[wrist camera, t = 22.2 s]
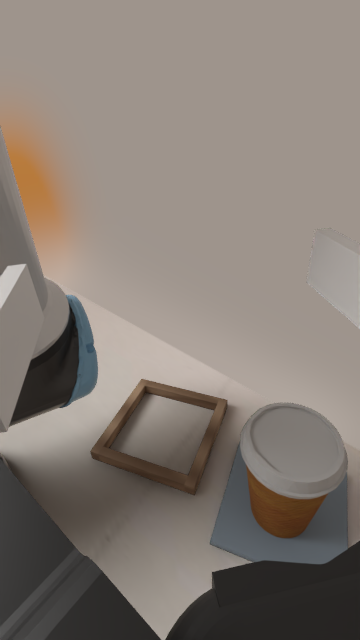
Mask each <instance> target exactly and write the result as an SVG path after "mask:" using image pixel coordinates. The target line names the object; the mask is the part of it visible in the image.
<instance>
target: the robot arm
mask: <svg viewBox="0 0 360 640" xmlns="http://www.w3.org/2000/svg"><path fill="white" fill-rule="evenodd" d="M307 283H308V284H309V285H310V286H311V287H312V288H313V289H315V290H316V291H317V292H318V293H319V294H320V295H322V296H323V297H324V298H325V299H326V300H327V301H328V302H329V303H331V304H332V305H333V306H334V307H335V308H337V310H339V311H340V312H341V313H342V314H343V315H344V316H346V317H347V318H348V319H349V320H350V321H351V322H352V323H354V324H355V325H356V326H357V327H358V328H359V329H360V243H358V242H356V241H354V240H352V239H350V238H348V237H347V236H345V235H343V234H341V233H339V232H337V231H335V230H333V229H331V228H324V229H317V230H315V233H314V239H313V245H312V251H311V258H310V264H309V270H308V276H307ZM93 344H94V340H93V334H92V330H91V327H90V324H89V321H88V318H87V315H86V313H85V310H84V308H83V306H82V304H81V302H80V301H79V300H78V299H77V298H76V297H75V296H73V295H65V293H64V292H63V291H62V290H61V288H60V287H59V286H58V285H56V284H55V283H54V282H52V281H50V280H48V279H46V278H44V276H43V273H42V269H41V266H40V262H39V259H38V255H37V252H36V248H35V245H34V241H33V238H32V235H31V231H30V228H29V224H28V221H27V218H26V214H25V210H24V207H23V203H22V200H21V196H20V193H19V189H18V187H17V183H16V179H15V176H14V172H13V169H12V166H11V162H10V158H9V155H8V151H7V148H6V144H5V141H4V137H3V134H2V130H1V127H0V433H1V432H7V430H8V427H10V426H12V425H15V424H17V423H20V422H23V421H25V420H28V419H30V418H33V417H35V416H38V415H41V414H43V413H46V412H49V411H51V410H54V409H57V408H63V407H66V406H68V405H70V404H71V403H72V402H73V401H76V400H78V399H80V398H82V397H84V396H86V395H88V394H89V393H91V392H92V390H93V389H94V387H95V385H96V383H97V377H98V362H97V354H96V350H95V348H94V346H93ZM0 640H161V639H160V638H159V637H158V636H157V634H156V633H155V632H154V631H153V630H152V629H151V627H150V626H149V625H148V624H147V623H146V622H145V620H144V619H143V618H142V617H141V616H140V615H139V613H138V612H137V611H136V610H135V609H134V608H133V606H132V605H131V604H130V603H129V602H128V601H127V599H126V598H125V597H124V596H123V595H122V594H121V593H120V591H119V590H118V589H117V588H116V587H115V586H114V584H113V583H112V582H111V581H110V580H109V579H108V577H107V576H106V575H105V574H104V573H103V572H102V570H101V569H100V568H99V567H98V566H97V565H96V564H95V563H94V562H93V561H92V560H91V559H90V558H89V557H88V556H83V555H82V554H81V553H80V552H79V551H78V550H77V549H76V548H75V546H74V545H73V544H72V543H71V542H70V541H69V539H68V538H67V537H66V536H65V535H64V533H63V532H62V531H61V530H60V529H59V528H58V526H57V525H56V524H55V523H54V522H53V520H52V519H51V518H50V517H49V516H48V514H47V513H46V512H45V511H44V510H43V509H42V507H41V506H40V505H39V504H38V503H37V501H36V500H35V499H34V498H33V497H32V496H31V494H30V493H29V492H28V491H27V490H26V488H25V487H24V486H23V485H22V484H21V483H20V481H19V480H18V479H17V478H16V477H15V475H14V474H13V473H12V472H11V469H10V467H9V465H8V464H7V462H6V460H5V458H4V457H3V455H2V454H1V453H0ZM166 640H360V541H359V542H357V543H356V544H354V545H353V546H351V547H350V548H348V549H347V550H345V551H344V552H342V553H341V554H339V555H338V556H336V557H335V558H333V559H332V560H330V561H329V562H327V563H325V564H308V563H295V562H282V561H269V560H263V561H258V562H254V563H250V564H245V565H241V566H237V567H233V568H228V569H224V570H220V571H215V572H212V589H210V590H209V591H207V592H206V593H204V594H203V595H201V596H200V597H199V598H198V599H197V600H195V601H194V602H193V603H192V604H191V605H190V606H189V607H188V608H187V609H186V610H185V611H184V613H183V614H182V615H181V616H180V617H179V619H178V620H177V622H176V623H175V624H174V626H173V627H172V629H171V630H170V632H169V634H168V636H167V638H166Z"/></svg>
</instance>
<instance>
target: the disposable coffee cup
mask: <svg viewBox="0 0 360 640" xmlns="http://www.w3.org/2000/svg"><path fill="white" fill-rule="evenodd" d="M240 449H241V453H242V457H243V460H244V461H245V463H246V469H247V477H248V487H249V494H250V503H251V510H252V513H253V516H254V518H255V520H256V521H257V523H258V524H259V525H260V526H261V527H262V528H263V529H264V530H265V531H266V532H268V533H269V534H271V535H273V536H276V537H279V538H294V537H296V536H298V535H300V534H301V533H302V532H304V531H305V529H306V528H307V526H308V524H309V523H310V521H311V520H312V518H313V517H314V515H315V513H316V512H317V510H318V509H319V507H320V506H321V504H322V503H323V501H324V499H325V498H326V496H327V495H328V493H329V492H331V491H333V490H334V489H336V488H337V487H338V485H339V484H340V483H341V482H342V481H343V479H344V477H345V474H346V471H347V465H348V460H347V453H346V450H345V447H344V444H343V441H342V438H341V436H340V434H339V432H338V431H337V429H336V428H335V427H334V426H333V425H332V424H331V423H330V422H329V421H328V420H327V419H326V418H325V417H324V416H322V415H321V414H320V413H318V412H316V411H314V410H312V409H310V408H307V407H305V406H302V405H298V404H294V403H275V404H270V405H267V406H265V407H262V408H260V409H259V410H258V411H256V412H255V413H254V414H253V415H252V416H251V418H250V419H249V420H248V421H247V422H246V424H245V425H244V427H243V429H242V432H241V435H240Z"/></svg>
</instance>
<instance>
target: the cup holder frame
mask: <svg viewBox="0 0 360 640" xmlns="http://www.w3.org/2000/svg"><path fill="white" fill-rule="evenodd" d="M146 392H147V393H151V394H155V395H158V396H162V397H166V398H170V399H174V400H177V401H181V402H185V403H189V404H193V405H197V406H200V407H204V408H208V409H212V410H215V411H214V413H213V416H212V418H211V420H210V423H209V425H208V428H207V430H206V433H205V435H204V438H203V440H202V443H201V445H200V447H199V450H198V452H197V455H196V457H195V460H194V462H193V465H192V467H191V470H190V472H189V474H188V475H185V474H182V473H179V472H176V471H173V470H170V469H168V468H165V467H162V466H159V465H156V464H153V463H150V462H147V461H144V460H141V459H138V458H135V457H133V456H130V455H127V454H124V453H121V452H118V451H115V450H112V449H109V447H110V446H111V444H112V443H113V441H114V440H115V438H116V437H117V435H118V434H119V432H120V431H121V429H122V428H123V426H124V425H125V423H126V422H127V420H128V419H129V417H130V416H131V414H132V413H133V411H134V409H135V408H136V406H137V405H138V403H139V402H140V400H141V399H142V397H143V396H144V394H145V393H146ZM226 409H227V400H225V399H221V398H217V397H213V396H209V395H205V394H201V393H197V392H193V391H189V390H185V389H181V388H176V387H172V386H168V385H164V384H160V383H156V382H152V381H148V380H144V379H141V381H140V382H139V383H138V385H137V386H136V388H135V389H134V390H133V392H132V393H131V395H130V396H129V398H128V399H127V400H126V402H125V403H124V405H123V406H122V407H121V409H120V410H119V412H118V413H117V414H116V416H115V417H114V419H113V420H112V421H111V423H110V424H109V426H108V427H107V428H106V430H105V431H104V433H103V434H102V436H101V437H100V438H99V440H98V441H97V443H96V444H95V445H94V447H93V448H92V450H91V451H90V452H91V455H92V458H93V459H96V460H99V461H101V462H104V463H107V464H110V465H112V466H115V467H118V468H121V469H124V470H126V471H129V472H132V473H135V474H137V475H140V476H143V477H146V478H148V479H151V480H154V481H157V482H159V483H162V484H165V485H168V486H170V487H173V488H176V489H179V490H181V491H184V492H187V493H190V494H192V495H195V493H196V490H197V487H198V484H199V482H200V479H201V476H202V474H203V471H204V468H205V466H206V463H207V460H208V458H209V455H210V452H211V449H212V447H213V444H214V441H215V439H216V436H217V433H218V431H219V428H220V425H221V422H222V420H223V417H224V414H225V412H226Z"/></svg>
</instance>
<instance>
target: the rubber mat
mask: <svg viewBox="0 0 360 640" xmlns="http://www.w3.org/2000/svg"><path fill="white" fill-rule="evenodd" d="M210 544H211V545H213V546H216V547H218V548H221V549H223V550H225V551H228V552H230V553H233V554H235V555H238V556H240V557H243V558H245V559H247V560H250V561H252V562H258V561H263V560H269V561H282V562H295V563H308V564H325V563H327V562H329V561H330V560H332V559H333V558H335V557H336V556H338V555H339V554H341V553H342V552H344V551H345V550H347V549H348V525H347V472H346V474H345V477H344V479H343V481H342V482H341V483H340V484H339V485H338V487H337V488H336V489H334V490H333V491H331V492H329V493H328V495H327V496H326V498H325V499H324V501H323V503H322V504H321V506H320V507H319V509H318V510H317V512H316V513H315V515H314V517H313V518H312V520H311V521H310V523H309V524H308V526H307V528H306V529H305V531H304V532H302V533H301V534H300V535H298V536H296V537H294V538H279V537H276V536H273V535H271V534H269V533H268V532H266V531H265V530H264V529H263V528H262V527H261V526H260V525H259V524H258V523H257V521H256V520H255V518H254V516H253V513H252V510H251V503H250V494H249V487H248V477H247V469H246V463H245V461H244V460H243V457H242V453H241V449H240V443H239V446H238V449H237V453H236V456H235V460H234V463H233V466H232V470H231V473H230V476H229V480H228V483H227V487H226V490H225V493H224V497H223V500H222V503H221V507H220V510H219V513H218V517H217V520H216V524H215V527H214V530H213V534H212V537H211V540H210Z"/></svg>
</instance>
